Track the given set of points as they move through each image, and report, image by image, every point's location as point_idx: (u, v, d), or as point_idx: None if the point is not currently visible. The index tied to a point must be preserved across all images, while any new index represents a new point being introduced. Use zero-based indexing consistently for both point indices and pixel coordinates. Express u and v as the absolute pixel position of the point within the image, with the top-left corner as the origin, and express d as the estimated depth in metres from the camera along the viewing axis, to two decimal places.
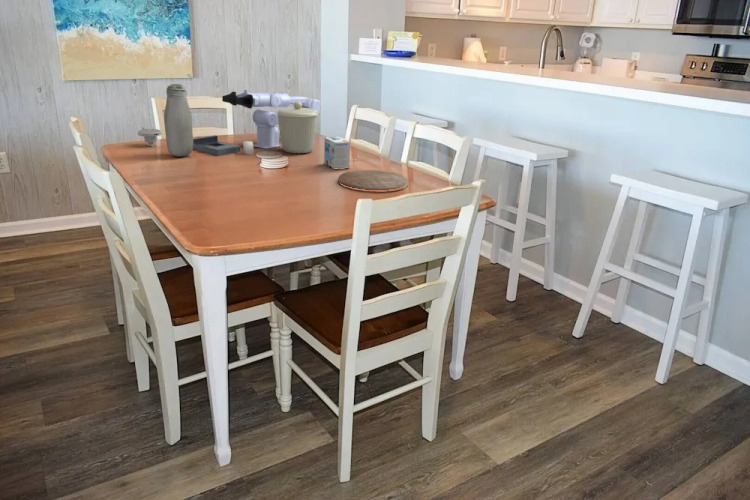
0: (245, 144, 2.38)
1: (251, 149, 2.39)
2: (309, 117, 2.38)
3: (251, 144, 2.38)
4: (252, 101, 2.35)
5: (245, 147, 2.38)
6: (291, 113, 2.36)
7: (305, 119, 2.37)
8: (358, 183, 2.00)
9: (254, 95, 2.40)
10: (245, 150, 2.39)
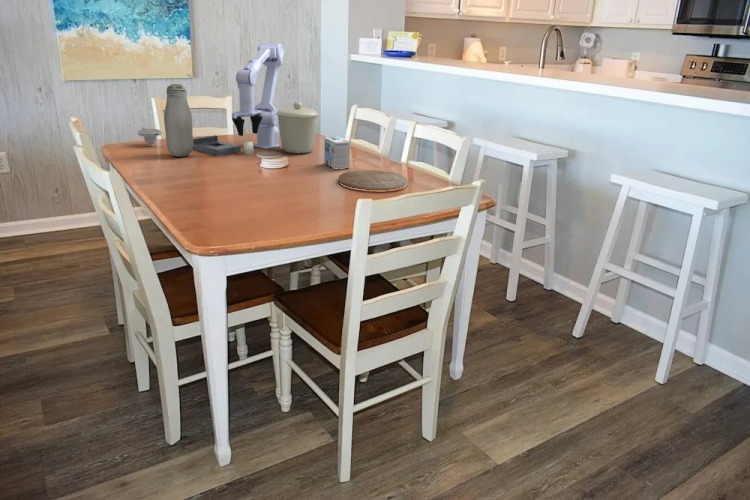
0: (245, 144, 2.38)
1: (251, 149, 2.39)
2: (309, 117, 2.38)
3: (251, 144, 2.38)
4: None
5: (245, 147, 2.38)
6: (291, 113, 2.36)
7: (305, 119, 2.37)
8: (358, 183, 2.00)
9: None
10: (245, 150, 2.39)
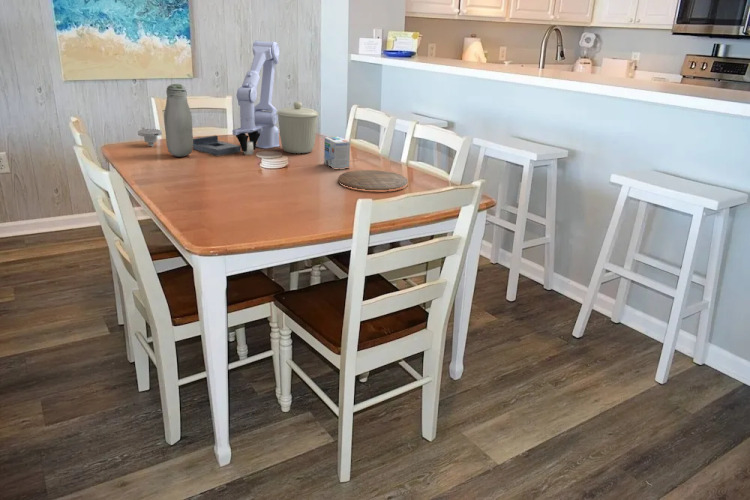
0: None
1: (251, 149, 2.39)
2: (309, 117, 2.38)
3: (251, 144, 2.38)
4: None
5: None
6: (291, 113, 2.36)
7: (305, 119, 2.37)
8: (358, 183, 2.00)
9: (254, 122, 2.36)
10: None
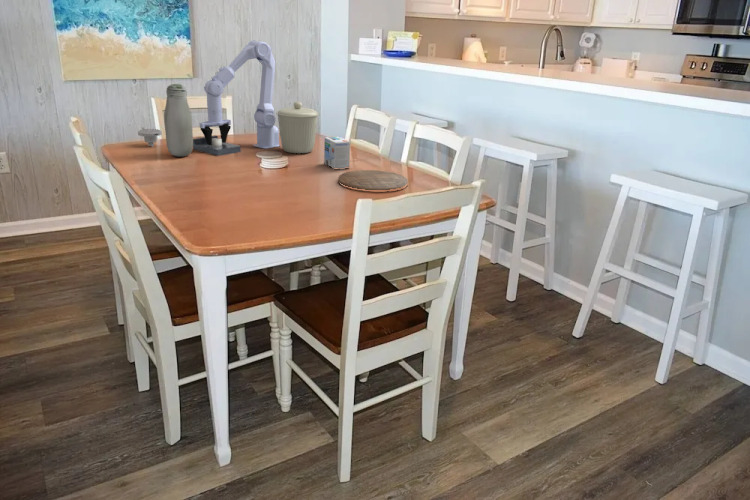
0: (214, 141, 2.40)
1: None
2: (309, 117, 2.38)
3: (220, 141, 2.41)
4: None
5: (214, 144, 2.40)
6: (291, 113, 2.36)
7: (305, 119, 2.37)
8: (358, 183, 2.00)
9: (221, 115, 2.38)
10: None
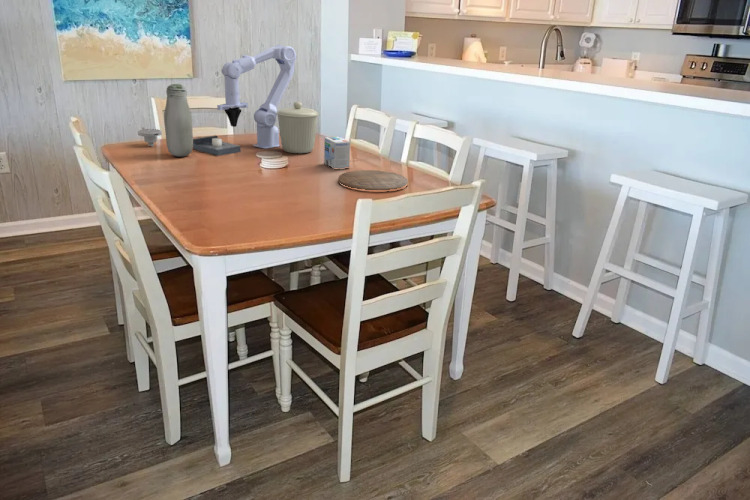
0: (214, 141, 2.40)
1: None
2: (309, 117, 2.38)
3: (220, 141, 2.41)
4: None
5: (214, 144, 2.40)
6: (291, 113, 2.36)
7: (305, 119, 2.37)
8: (358, 183, 1.99)
9: (239, 98, 2.39)
10: None
